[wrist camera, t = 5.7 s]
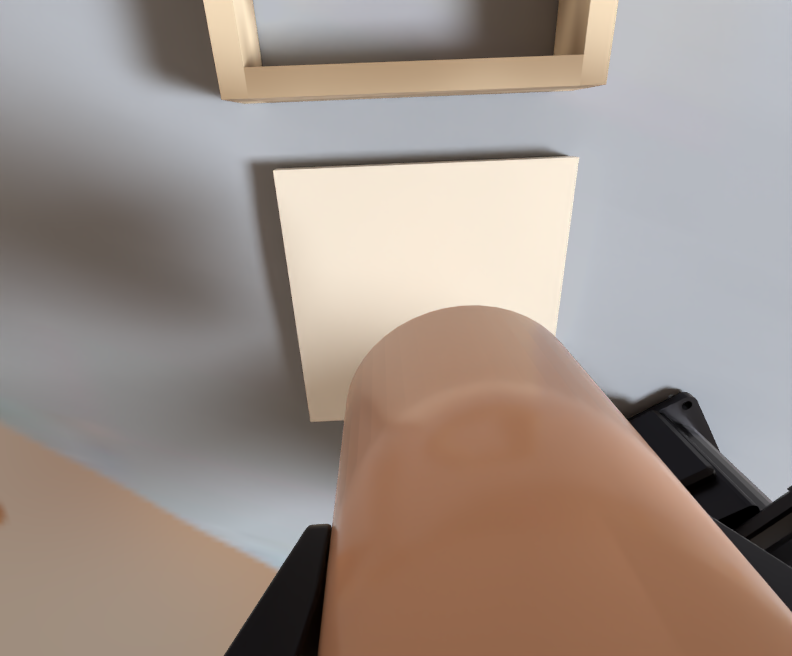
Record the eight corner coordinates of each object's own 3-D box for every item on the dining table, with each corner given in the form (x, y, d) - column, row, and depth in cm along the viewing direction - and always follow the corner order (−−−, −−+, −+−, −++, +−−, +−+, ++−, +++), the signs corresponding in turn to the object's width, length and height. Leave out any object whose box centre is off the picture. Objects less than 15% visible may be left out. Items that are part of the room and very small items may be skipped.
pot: (614, 434, 12) (1203, 1194, 3) (426, 529, 13) (515, 1256, 5) (512, 254, 9) (1519, 1198, 1) (296, 390, 11) (12, 1311, 2)
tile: (539, 398, 21) (545, 408, 20) (312, 411, 21) (310, 421, 20) (569, 156, 16) (579, 157, 16) (277, 168, 16) (273, 170, 15)
